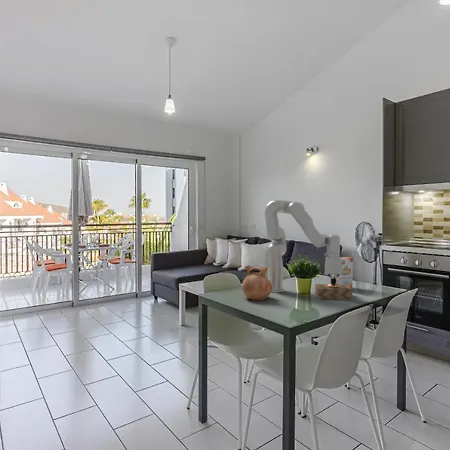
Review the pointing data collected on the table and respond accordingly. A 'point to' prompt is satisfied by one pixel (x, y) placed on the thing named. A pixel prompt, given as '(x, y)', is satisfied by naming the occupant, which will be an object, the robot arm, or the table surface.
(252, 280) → the jug
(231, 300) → the table surface
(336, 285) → the knob
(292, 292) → the table surface
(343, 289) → the brown patterned box
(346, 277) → the cracker box
